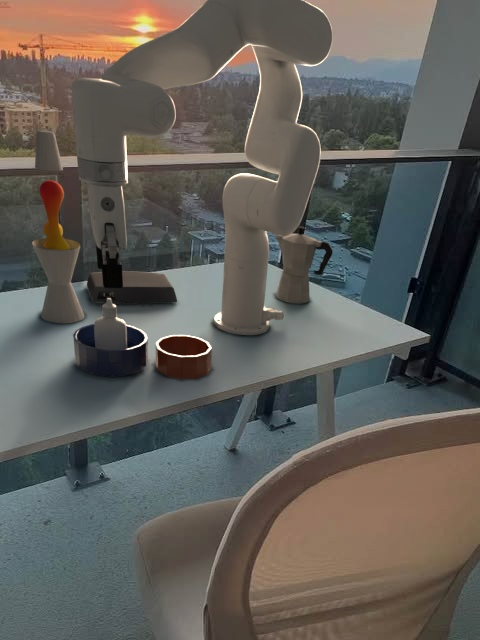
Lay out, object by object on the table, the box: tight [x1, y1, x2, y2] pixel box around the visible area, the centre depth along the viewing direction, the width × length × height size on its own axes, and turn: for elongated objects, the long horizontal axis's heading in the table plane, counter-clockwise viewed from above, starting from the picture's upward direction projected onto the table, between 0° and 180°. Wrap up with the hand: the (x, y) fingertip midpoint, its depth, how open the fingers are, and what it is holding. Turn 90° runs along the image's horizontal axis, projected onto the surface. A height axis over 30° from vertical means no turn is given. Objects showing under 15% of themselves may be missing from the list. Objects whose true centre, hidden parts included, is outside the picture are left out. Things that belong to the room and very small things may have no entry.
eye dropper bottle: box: [93, 298, 127, 350], centre depth 114 cm, size 4×6×12 cm
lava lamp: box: [31, 129, 86, 324], centre depth 123 cm, size 9×9×35 cm
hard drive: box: [86, 270, 178, 304], centre depth 147 cm, size 13×19×4 cm
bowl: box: [72, 323, 149, 378], centre depth 116 cm, size 13×13×6 cm
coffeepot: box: [274, 225, 333, 305], centre depth 158 cm, size 15×9×18 cm, turn 72°
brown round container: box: [154, 334, 213, 380], centre depth 119 cm, size 10×10×4 cm
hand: (110, 277), depth 108 cm, fingers open, 9 cm apart
